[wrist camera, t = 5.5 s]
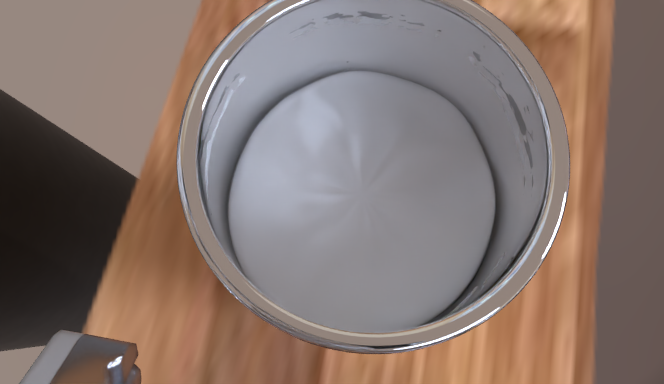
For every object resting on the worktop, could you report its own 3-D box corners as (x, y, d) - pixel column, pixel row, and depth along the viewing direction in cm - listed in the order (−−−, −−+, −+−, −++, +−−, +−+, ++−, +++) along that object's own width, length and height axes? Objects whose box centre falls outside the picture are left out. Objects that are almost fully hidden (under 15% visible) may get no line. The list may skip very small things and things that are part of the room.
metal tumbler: (461, 215, 24) (653, 74, 10) (383, 361, 23) (464, 458, 8) (321, 139, 25) (297, -103, 10) (238, 276, 24) (79, 227, 9)
